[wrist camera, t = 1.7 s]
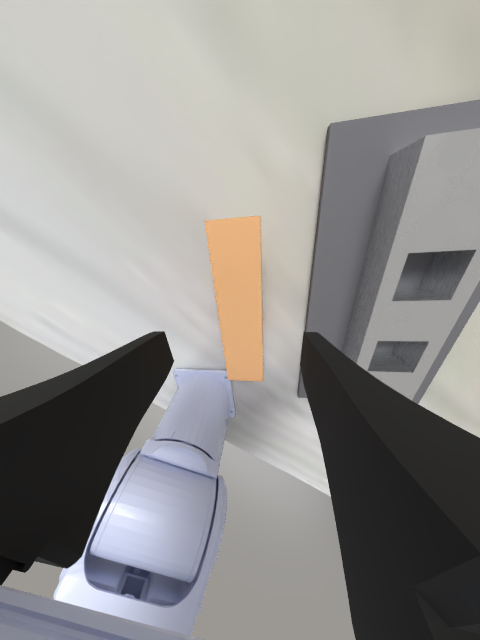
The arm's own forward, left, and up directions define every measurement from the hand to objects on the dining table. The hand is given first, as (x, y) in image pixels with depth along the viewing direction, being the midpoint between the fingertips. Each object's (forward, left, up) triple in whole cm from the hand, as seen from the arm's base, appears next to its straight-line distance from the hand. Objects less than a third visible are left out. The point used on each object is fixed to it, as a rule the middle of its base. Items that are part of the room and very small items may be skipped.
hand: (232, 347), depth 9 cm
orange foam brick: (0, 0, -10) cm, 10 cm away
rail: (-2, -13, -10) cm, 16 cm away
